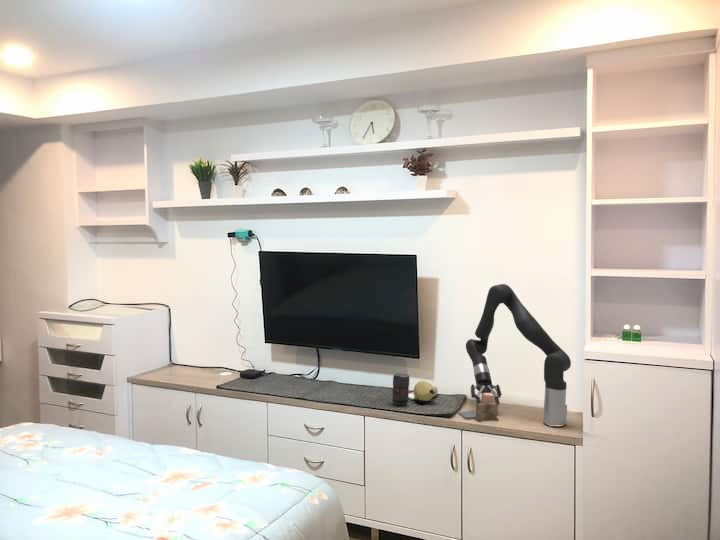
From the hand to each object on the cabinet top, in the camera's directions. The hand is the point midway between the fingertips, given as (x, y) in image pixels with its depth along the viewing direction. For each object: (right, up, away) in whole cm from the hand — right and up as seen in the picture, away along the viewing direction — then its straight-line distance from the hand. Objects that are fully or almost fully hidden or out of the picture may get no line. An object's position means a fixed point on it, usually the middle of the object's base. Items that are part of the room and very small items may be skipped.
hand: (488, 405), depth 281 cm
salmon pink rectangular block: (0, -5, +2) cm, 5 cm away
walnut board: (-2, -5, -6) cm, 8 cm away
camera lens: (-41, -3, +12) cm, 43 cm away
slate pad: (-9, -5, -2) cm, 11 cm away
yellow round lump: (-28, -3, +18) cm, 34 cm away
